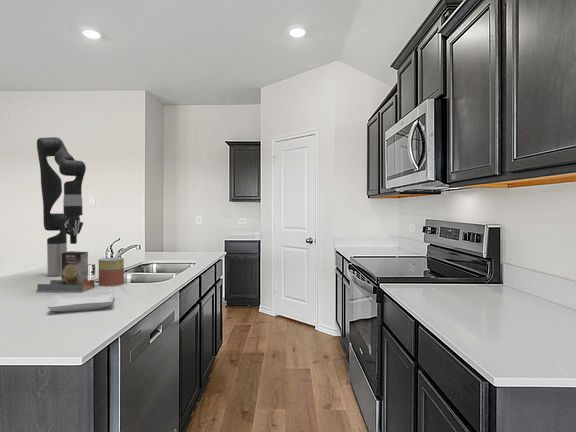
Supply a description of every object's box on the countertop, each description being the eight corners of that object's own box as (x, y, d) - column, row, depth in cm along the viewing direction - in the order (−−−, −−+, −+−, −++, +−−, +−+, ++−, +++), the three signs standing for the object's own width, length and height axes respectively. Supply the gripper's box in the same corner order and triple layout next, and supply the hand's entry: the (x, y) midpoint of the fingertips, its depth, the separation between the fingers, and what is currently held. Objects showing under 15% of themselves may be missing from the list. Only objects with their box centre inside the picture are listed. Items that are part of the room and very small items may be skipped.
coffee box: (60, 288, 184) (60, 252, 183) (69, 286, 190) (69, 251, 190) (80, 289, 183) (80, 253, 183) (88, 286, 190) (88, 251, 189)
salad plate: (56, 302, 164) (56, 294, 164) (114, 298, 172) (114, 289, 172) (46, 316, 144) (46, 306, 144) (113, 310, 152) (113, 301, 152)
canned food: (128, 281, 205) (128, 257, 205) (116, 286, 194) (116, 260, 194) (106, 281, 206) (106, 257, 206) (93, 285, 195) (93, 260, 195)
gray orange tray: (52, 286, 193) (52, 278, 193) (95, 287, 192) (94, 278, 192) (36, 292, 181) (36, 283, 181) (81, 292, 180) (81, 283, 180)
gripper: (73, 204, 192) (73, 242, 193) (55, 205, 179) (56, 245, 180) (88, 205, 192) (89, 242, 192) (72, 205, 179) (73, 245, 179)
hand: (73, 243), depth 186 cm, fingers closed
